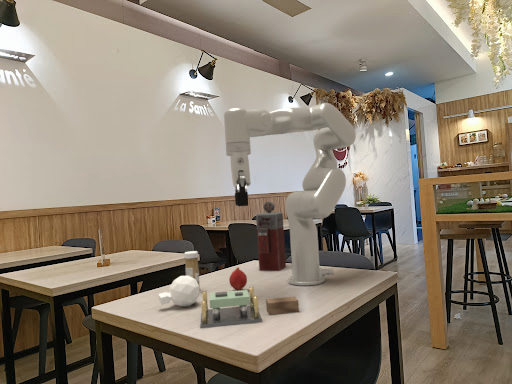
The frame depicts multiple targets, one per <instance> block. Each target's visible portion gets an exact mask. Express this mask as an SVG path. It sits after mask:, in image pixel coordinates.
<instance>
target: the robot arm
mask: <svg viewBox="0 0 512 384" xmlns="http://www.w3.org/2000/svg"><path fill="white" fill-rule="evenodd" d="M223 119H224V120H223V122H224V135H225V136H224V137H225V140H224V141H225V153H226V154H225V155H226V156H227V157H229V158H230V168H231V177H232V178H231V179H232V186H233V187H234V188H235V189H234V192H235V193H234V202H235V206H237V207H248V206H249V193H248V187H249V186H250V185H252V184H251V183H252V182H251V172H250V171H251V170H250V161H249V155H251V154H252V151H251V138H256V137H264V136H273V135H284V134H286V135H287V134H292V133H301V132H312V131H316V130H317V131H316V132H315V133H314V135H313V140H312V141H313V146H314V150H315V159H314V161H313V163H312V165H311V166H310V168H309V169H308V171H307V173H306V175H304V178H303V180H302V184H301V185H302V189H303V190H297V191H294V192H293V191H292V192H291V193H290V194H288V196H287V197H286V199H285V203H284V208H285V212H286V216H287V220H288V226H289V239H290V240H289V243H290V244H289V245H290V256H291V257H290V259H291V274H292V276H290V277H288V283H289V284H291V285H295V286H302V287H303V286H305V287H306V286H315V285H319V284H323V283H324V282H325V281H326V280H325V279H326V278H325V276H331V275H335V274H334V269H333V268H322V267H320V255H319V253H320V252H319V240H318V239H319V238H318V229H317V225H316V223H315V221H314V219H326V218H327V217H329V216H330V215H331V214H332V212H333V211H334V210H335V207H336V206H337V204H338V202H339V201H340V199H341V198H342V195H343V193H344V191H345V189H346V186H347V185H346V184H347V178H346V174H345V172H344V171H343V170H342V169H341V168H339V167H338V160H337V157H336V156H335V154H334V151H333V150H336V149H341V148H348V147H351V146H352V145H353V144H354V143H355V141H356V137H357V135H356V130H355V128H354V126H353V124H351V122H350V121H349V120H348V118H346V117H345V116H344V114H343V113H341V111H339V109H338V108H337V107H336V106H334V105H333V104H331V103H329V102H322V103H318V104H315V105H312V106H302V107H285V108H281V109H277V110H273V111H268V110H265V109H263V108H258V109H256V108H255V109H245V108H240V107H235V108H229V109H227V110H225V111H224V114H223Z"/></svg>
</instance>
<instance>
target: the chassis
mask: <svg viewBox="0 0 512 384" xmlns="http://www.w3.org/2000/svg"><path fill="white" fill-rule="evenodd" d="M248 293H249V298H250V305H240V306H229V307H218V308H209V306H208V292H207V290H206V291H205V290H204V291H202V295H201V296H202V301H200V303H201V304H200V305H201V314H200V323H199V324H200V325H199V326H200V329H202V328H203V329H204V328H215V327H222V326H223V327H225V326H235V325H246V324H255V323H262V322H263V319H262V316H261V314H260V311H259V310H260V308H259V296H257V295H256V296H255V288H254V287H253V286H251V287H249V292H248Z"/></svg>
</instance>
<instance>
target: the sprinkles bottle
mask: <svg viewBox="0 0 512 384" xmlns="http://www.w3.org/2000/svg"><path fill="white" fill-rule="evenodd" d="M183 256H184V262H185V276H190V277H192V278H194V279H196V281H197V283H198V285H199V290H200V291H201V288H200V285H201V284H200V273H199V272H200V271H199V268H200V267H199V259H198V258H199V252H198V251H197V250H192V251H191V250H190V251H185V252H184V255H183Z"/></svg>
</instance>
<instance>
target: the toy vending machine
mask: <svg viewBox="0 0 512 384" xmlns="http://www.w3.org/2000/svg"><path fill="white" fill-rule="evenodd" d="M274 209H275V204H274V202H272V201H267V202H264V203H263V210H264V211H265V212H261V213H257V214H256V215H255V220H256V223H255V224H256V234H257V235H256V236H257V237H256V238H257V251H258V253H257V254H258V255H257V256H258V271H260V272H261V271H267V272H269V271H270V272H275V271H276V272H281V271H282V270H283V269H285V268H286V267H287V264H286V247H285V245H286V244H285V232H284V231H285V229H284V217H283V216H284V215H283V212H282V211H274Z"/></svg>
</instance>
